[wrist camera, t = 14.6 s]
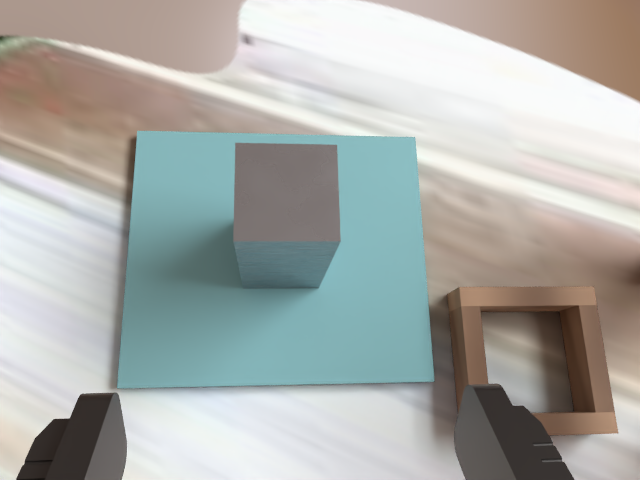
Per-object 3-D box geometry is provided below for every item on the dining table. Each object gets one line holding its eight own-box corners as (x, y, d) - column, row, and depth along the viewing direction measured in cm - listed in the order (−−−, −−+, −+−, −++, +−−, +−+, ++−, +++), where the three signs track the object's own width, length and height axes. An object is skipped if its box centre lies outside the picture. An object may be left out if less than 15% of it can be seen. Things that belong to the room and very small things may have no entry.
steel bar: (243, 288, 29) (233, 241, 20) (244, 217, 30) (235, 142, 21) (318, 288, 29) (340, 241, 20) (316, 217, 30) (337, 144, 22)
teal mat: (120, 388, 27) (117, 388, 27) (139, 135, 31) (137, 130, 31) (431, 382, 29) (434, 381, 28) (412, 141, 33) (415, 137, 32)
